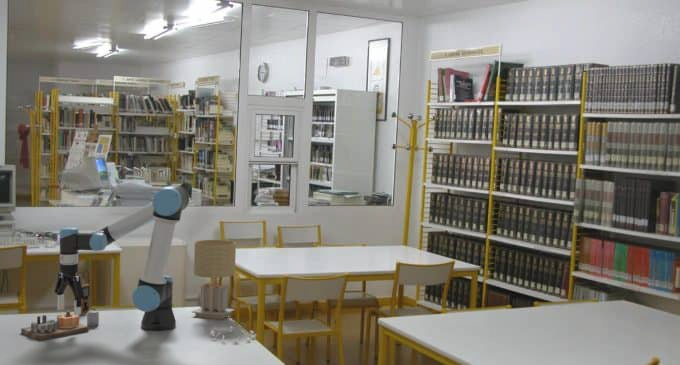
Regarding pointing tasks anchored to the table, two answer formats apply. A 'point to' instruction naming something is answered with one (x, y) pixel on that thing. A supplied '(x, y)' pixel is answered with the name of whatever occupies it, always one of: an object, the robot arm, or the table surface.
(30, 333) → the gear board
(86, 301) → the multimeter
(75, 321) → the loose gear
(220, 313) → the desk lamp
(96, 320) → the smooth gray pebble
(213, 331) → the game piece set
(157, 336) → the table surface
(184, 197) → the robot arm
